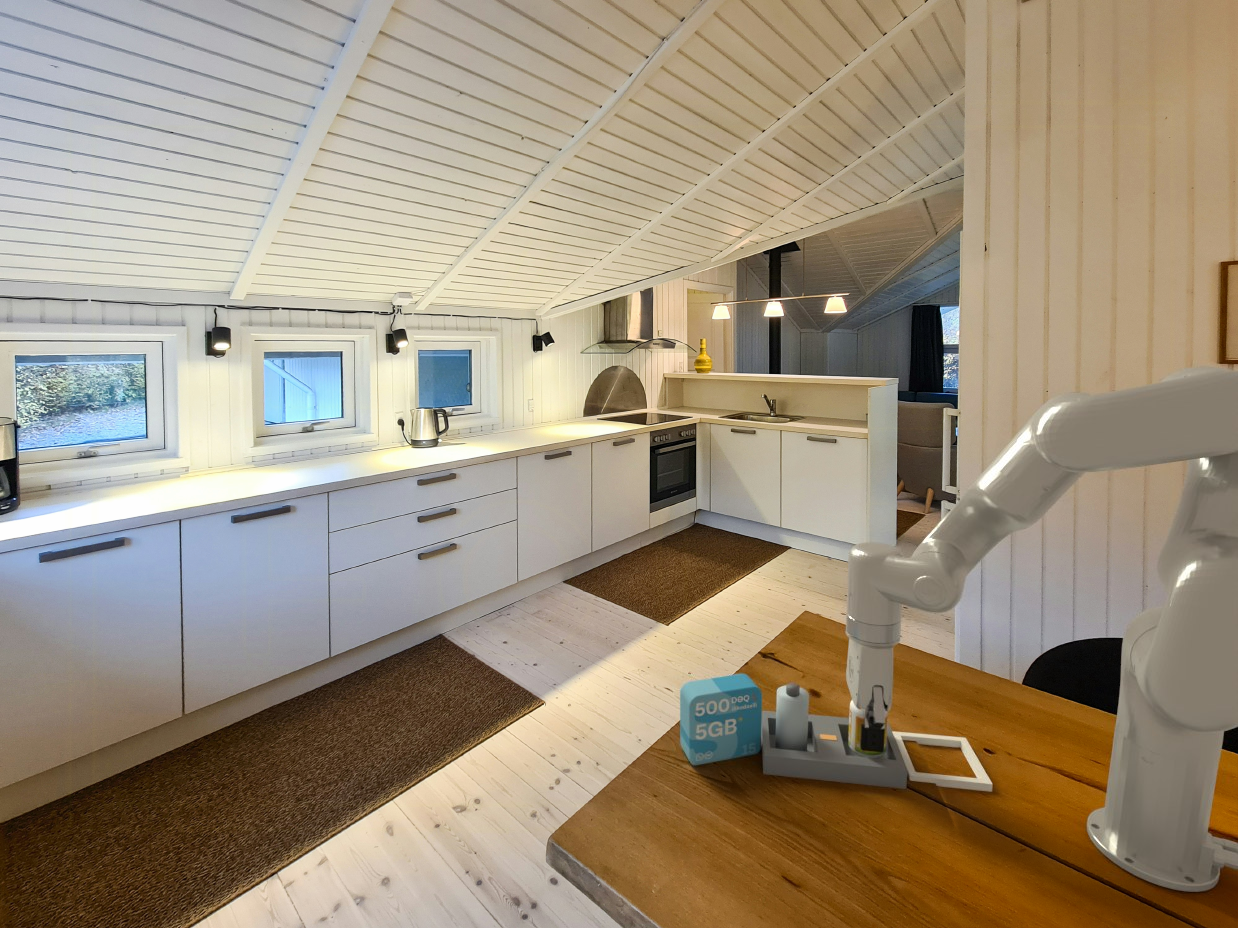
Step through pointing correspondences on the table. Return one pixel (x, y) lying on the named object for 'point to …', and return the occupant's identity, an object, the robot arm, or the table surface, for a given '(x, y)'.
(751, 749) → the data package
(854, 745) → the supplement bottle
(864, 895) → the table surface
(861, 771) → the grey compartment tray
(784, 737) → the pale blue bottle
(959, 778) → the tray frame
